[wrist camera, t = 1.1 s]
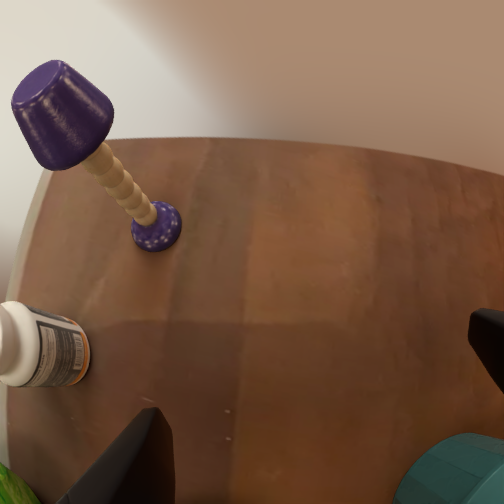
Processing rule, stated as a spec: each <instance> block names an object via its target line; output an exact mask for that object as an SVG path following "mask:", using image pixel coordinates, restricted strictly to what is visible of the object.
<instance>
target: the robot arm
mask: <svg viewBox="0 0 504 504" xmlns="http://www.w3.org/2000/svg"><path fill="white" fill-rule="evenodd" d="M468 341H469V343H470V345H471V346H472V348H473V349H474V351H475V352H476V354H477V356H478V357H479V359H480V360H481V362H482V363H483V365H484V367H485V368H486V370H487V371H488V373H489V374H490V376H491V378H492V379H493V380H494V382H495V383H496V384H497V386H498V387H499V388H500V390H501V391H502V392H503V394H504V312H502V311H497V310H491V309H486V308H480V309H478V310H476V311H474V312H473V313H472V314H471V316H470V321H469V329H468ZM55 504H175V468H174V454H173V437H172V430H171V428H170V426H169V424H168V422H167V421H166V419H165V417H164V415H163V414H162V412H161V410H160V409H159V408H157V407H152V408H145V409H143V410H142V411H141V412H140V413H139V414H138V415H137V416H136V417H135V418H134V419H133V420H132V422H131V423H130V424H129V425H128V426H127V427H126V428H125V429H124V430H123V431H122V433H121V434H120V435H119V436H118V437H117V438H116V439H115V440H114V441H113V442H112V443H111V445H110V446H109V447H108V448H107V449H106V450H105V451H104V452H103V453H102V454H101V455H100V456H99V458H98V459H97V460H96V461H95V462H94V463H93V464H92V465H91V466H90V467H89V468H88V469H87V470H86V472H85V473H84V474H83V475H82V476H81V477H80V478H79V479H78V480H77V481H76V482H75V483H74V484H73V485H72V486H71V488H70V489H69V490H68V491H67V493H65V494H64V495H63V496H62V497H61V498H60V499H59V500H58V501H57V502H56V503H55Z"/></svg>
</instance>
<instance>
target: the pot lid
mask: <svg viewBox="0 0 504 504" xmlns="http://www.w3.org/2000/svg"><path fill="white" fill-rule="evenodd" d="M461 504H504V459H503V460H502V461H501V462H499V463H498V464H497V465H496V466H495V467H494V468H493V469H492V470H491V471H489V472H488V473H487V475H486V476H485V477H484V478H483V479H482V480H481V481H480V482H479V483H478V484H477V485H476V486H475V487H474V488H473V490H472V491H471V492H470V493H469V494H468V495H467V497H466V498H465V499H464V500H463V502H462V503H461Z"/></svg>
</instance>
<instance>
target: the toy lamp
mask: <svg viewBox="0 0 504 504" xmlns="http://www.w3.org/2000/svg"><path fill="white" fill-rule="evenodd" d="M11 106H12V111H13V114H14V116H15V118H16V120H17V122H18V125H19V127H20V129H21V131H22V133H23V135H24V137H25V139H26V141H27V143H28V145H29V147H30V149H31V151H32V153H33V154H34V157H35V158H36V160H37V161H38V163H39V164H40V165H41V166H42V167H44V168H46V169H48V170H51V171H58V170H59V171H61V170H66V169H69V168H71V167H73V166H75V165H77V164H79V163H80V162H81V164H82V165H83V167H84V168H85V169H86V170H87V171H88V172H89V173H91V174H93V175H94V178H95V180H96V181H97V182H98V183H99V184H100V185H102V186H104V187H105V189H106V191H107V193H108V194H109V195H110V196H111V197H113V198H115V199H116V201H117V203H118V204H119V205H120V206H121V207H123V208H125V210H126V212H127V213H128V214H129V215H130V216H132V217H133V220H132V223H131V232H132V236H133V239H134V241H135V242H136V244H137V245H138V246H139V247H140V248H142V249H143V250H146V251H149V252H157V251H161V250H164V249H166V248H168V247H169V246H170V245H172V244H173V242H174V241H175V240H176V239H177V237H178V235H179V233H180V230H181V218H180V215H179V213H178V211H177V210H176V209H175V208H174V207H173V206H171V205H170V204H168V203H165V202H161V201H153V202H149V199H148V198H147V196H146V195H144V194H143V193H142V191H141V189H140V187H139V186H138V185H137V184H136V183H134V182H133V179H132V177H131V175H130V174H129V173H128V172H127V171H125V170H124V169H123V166H122V164H121V162H120V161H119V160H118V159H117V158H115V157H114V156H113V153H112V151H111V149H110V147H109V146H108V145H107V144H106V143H104V142H103V141H104V140H105V138H106V136H107V135H108V133H109V131H110V128H111V126H112V123H113V118H114V108H113V105H112V103H111V101H110V100H109V99H108V97H107V96H106V95H105V94H104V93H102V92H101V91H100V90H99V89H98V88H96V87H95V86H94V85H93V84H92V83H91V82H89V81H88V80H87V79H86V78H85V77H83V76H82V75H81V74H80V73H78V72H77V71H76V70H75V69H73V68H72V67H71V66H70V65H68V64H67V63H65V62H63V61H60V60H51V61H48V62H46V63H44V64H42V65H40V66H38V67H37V68H36V69H34V70H33V71H32V72H30V73H29V74H28V75H27V76H26V77H25V78H24V79H23V80H22V81H21V83H20V84H19V85H18V87H17V88H16V90H15V92H14V94H13V97H12V100H11Z"/></svg>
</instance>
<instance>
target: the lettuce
mask: <svg viewBox="0 0 504 504" xmlns="http://www.w3.org/2000/svg"><path fill="white" fill-rule="evenodd" d="M0 504H41V503H40V501H39V500H38V499H37V497H36V496H35V494H34V493H33V491H32V490H31V489H30V488H29V486H28V485H27V484H26V483H25V481H24V480H23V479H22V478H20V477H19V476H17V475H16V474H15V473H13V472H12V471H11V470H9V469H8V468H7V467H5V466H4V465H3V464H1V463H0Z"/></svg>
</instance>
